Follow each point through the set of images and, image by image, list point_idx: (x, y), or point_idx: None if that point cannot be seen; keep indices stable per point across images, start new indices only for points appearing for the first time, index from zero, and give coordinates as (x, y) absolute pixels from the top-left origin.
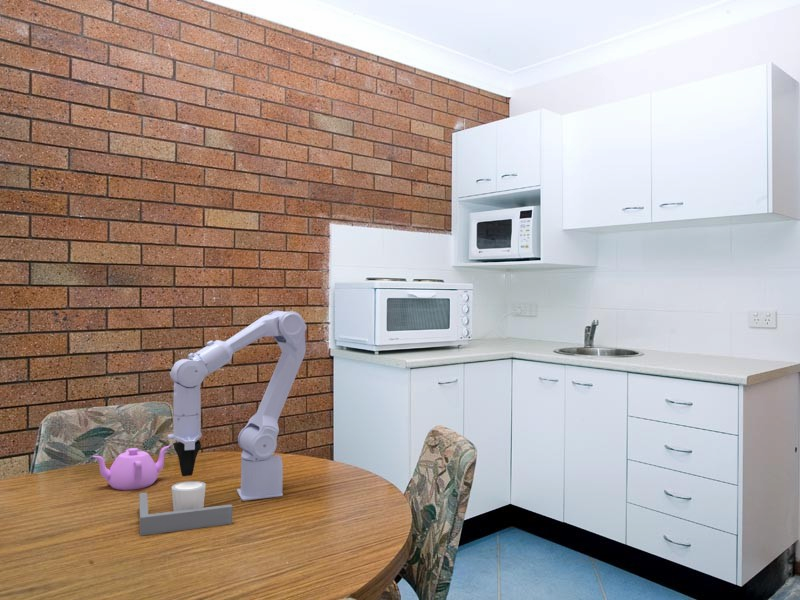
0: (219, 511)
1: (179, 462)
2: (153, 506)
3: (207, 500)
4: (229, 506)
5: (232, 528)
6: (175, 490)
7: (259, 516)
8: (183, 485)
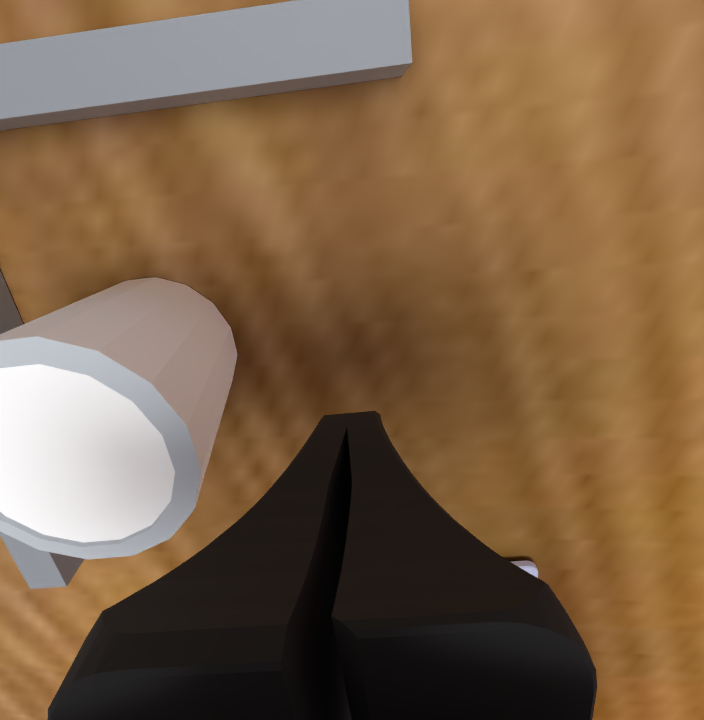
0: None
1: (353, 471)
2: (431, 125)
3: (440, 434)
4: (32, 578)
5: None
6: None
7: None
8: (73, 425)
